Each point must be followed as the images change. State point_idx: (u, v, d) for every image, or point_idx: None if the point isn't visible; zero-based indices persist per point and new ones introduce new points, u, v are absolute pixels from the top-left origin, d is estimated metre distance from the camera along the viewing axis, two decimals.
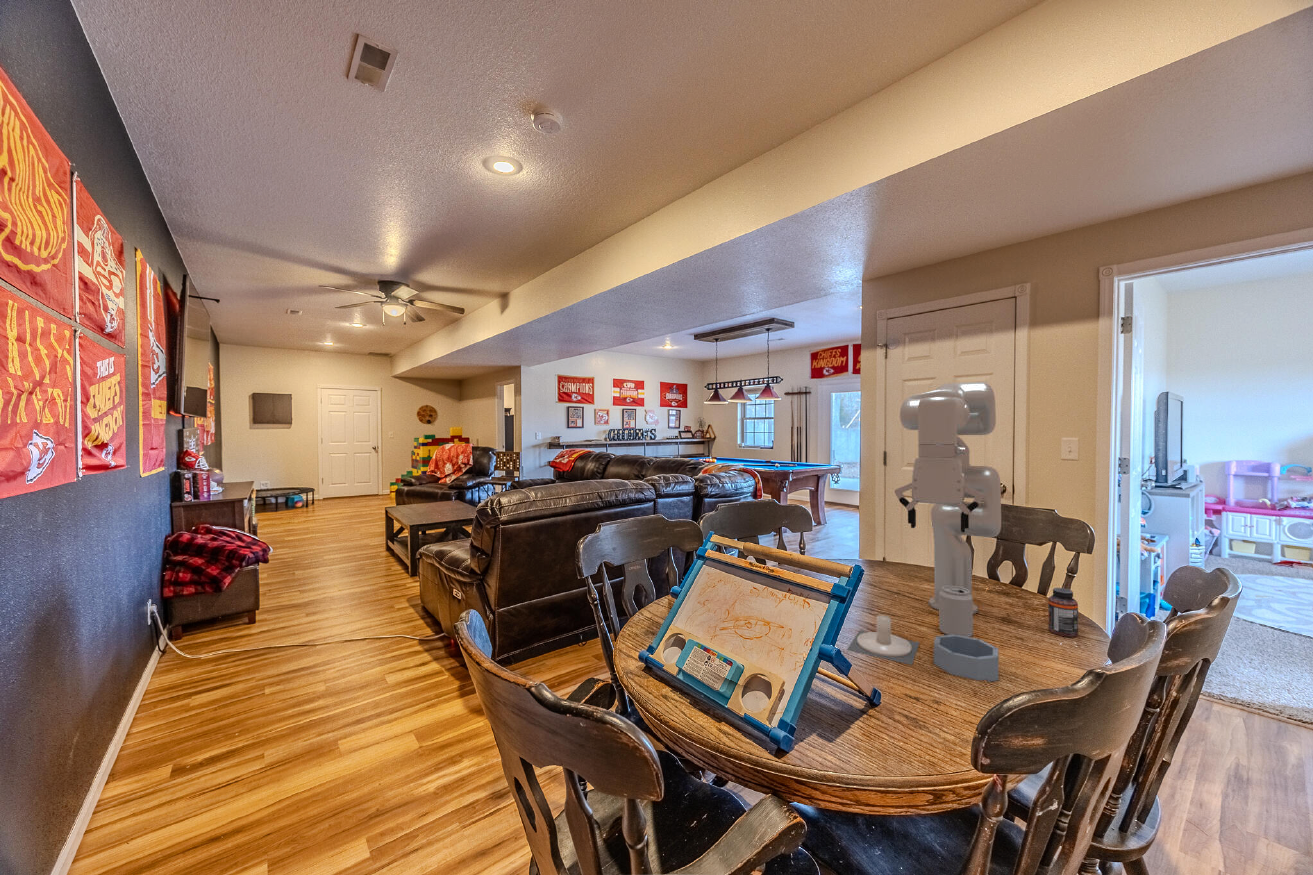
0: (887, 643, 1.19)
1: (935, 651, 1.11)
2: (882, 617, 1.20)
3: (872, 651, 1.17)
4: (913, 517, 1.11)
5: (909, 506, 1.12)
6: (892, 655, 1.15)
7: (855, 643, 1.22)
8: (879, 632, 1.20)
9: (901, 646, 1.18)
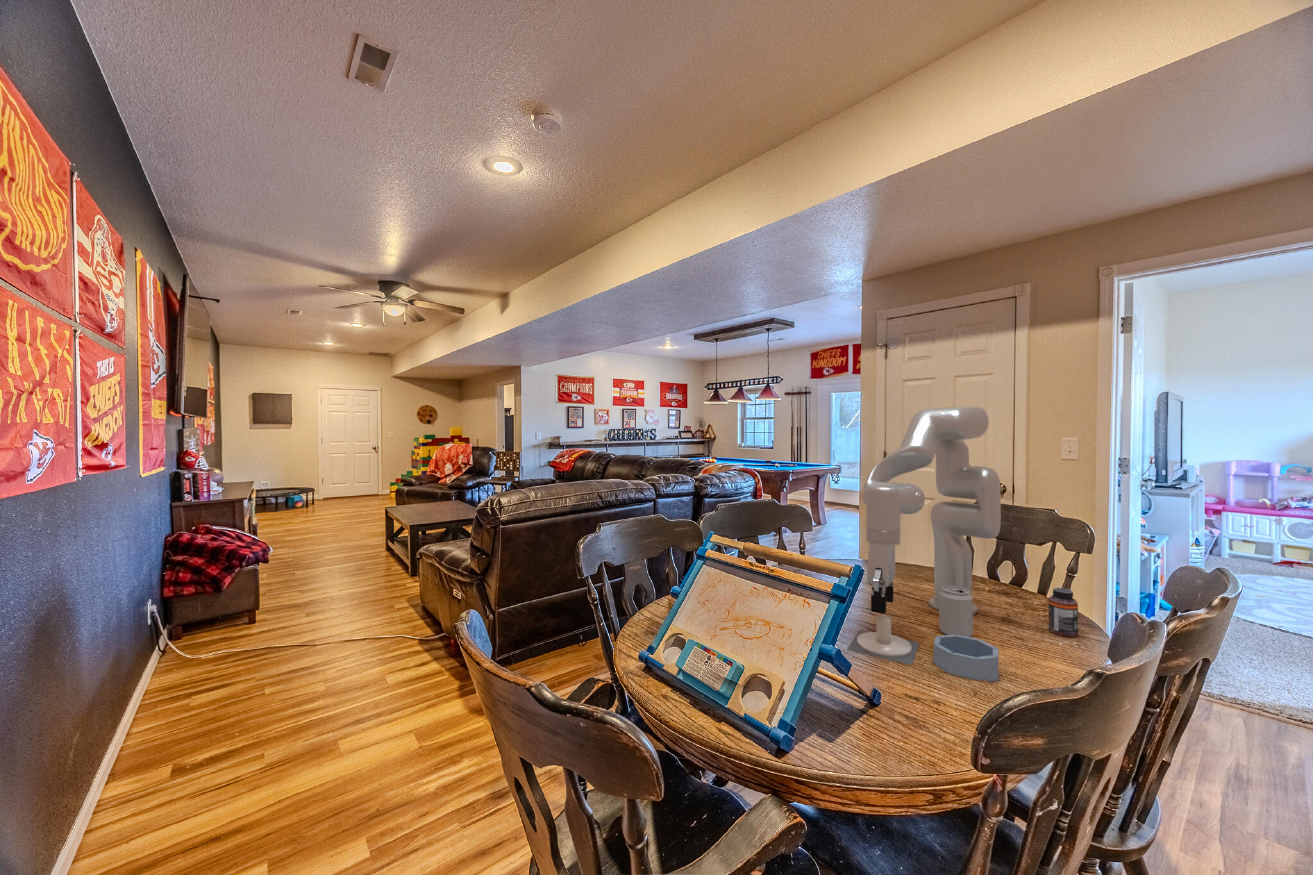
0: (887, 643, 1.19)
1: (935, 651, 1.11)
2: (882, 617, 1.20)
3: (872, 651, 1.16)
4: None
5: (884, 593, 1.15)
6: (892, 655, 1.15)
7: (855, 643, 1.22)
8: (879, 632, 1.20)
9: (901, 646, 1.18)
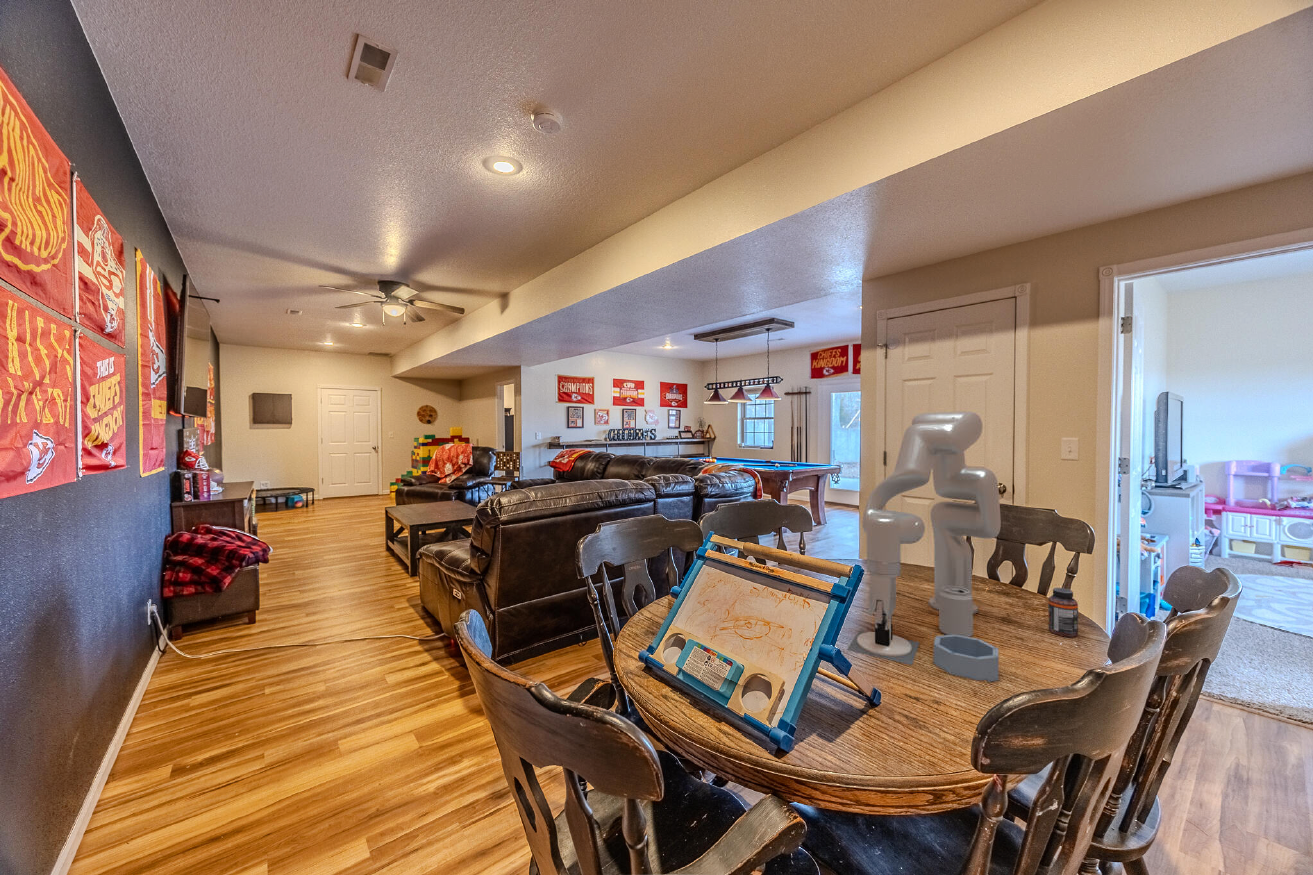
0: None
1: (935, 651, 1.11)
2: None
3: (872, 651, 1.16)
4: None
5: None
6: (892, 655, 1.15)
7: (855, 643, 1.22)
8: None
9: (901, 646, 1.18)
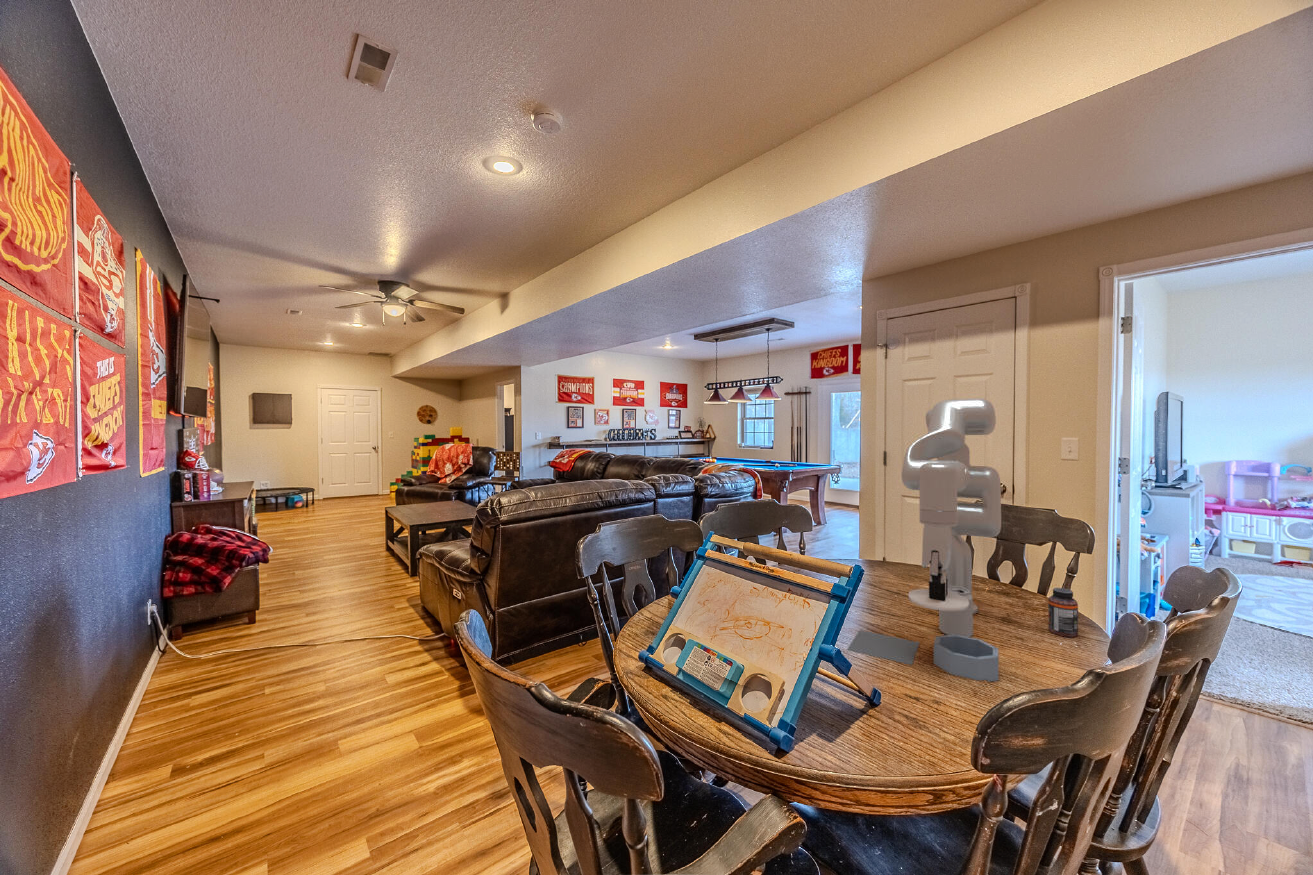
0: None
1: (935, 651, 1.11)
2: None
3: (927, 605, 1.09)
4: None
5: (943, 579, 1.10)
6: (949, 609, 1.07)
7: (855, 643, 1.22)
8: None
9: (958, 601, 1.11)
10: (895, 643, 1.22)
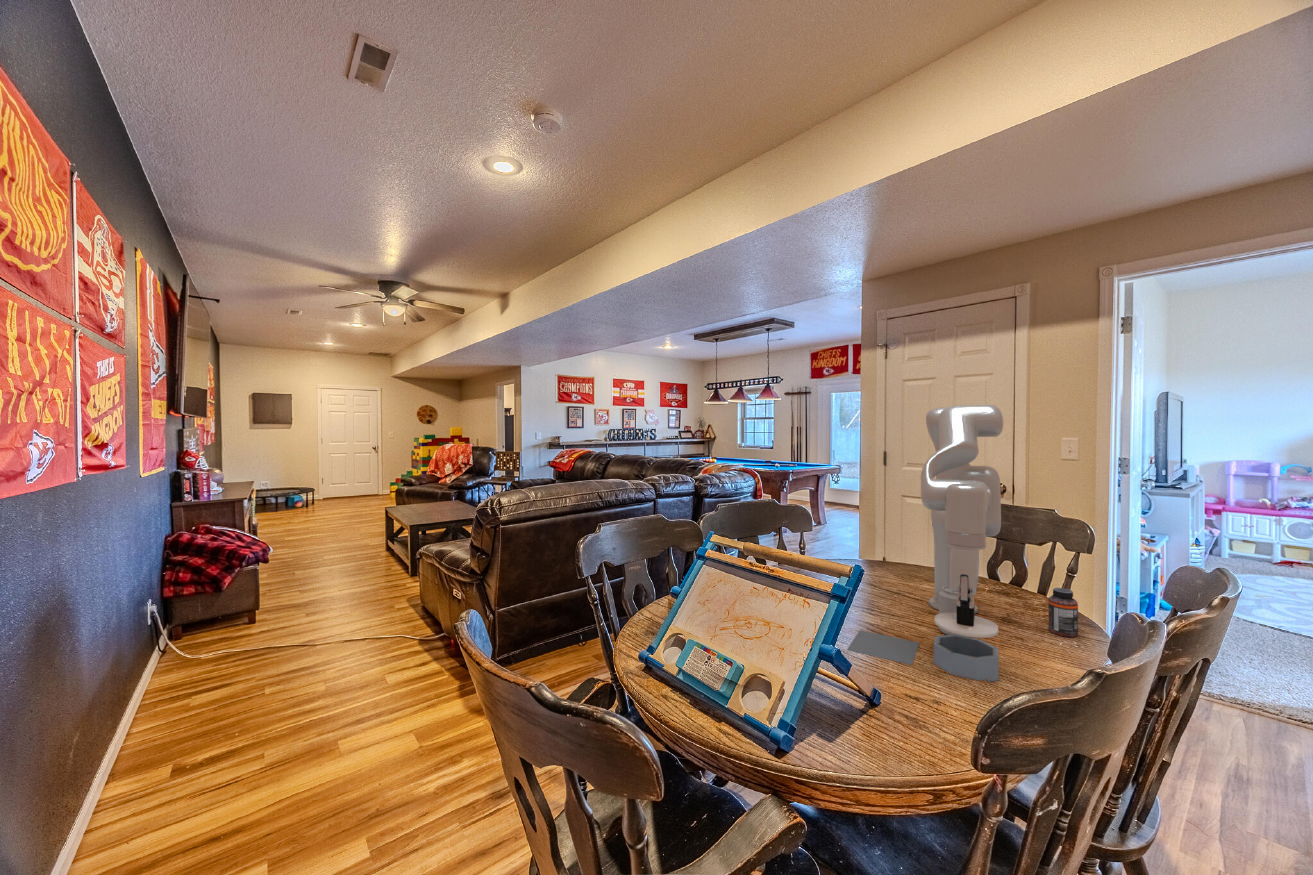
0: None
1: (935, 651, 1.11)
2: None
3: (956, 631, 1.06)
4: None
5: None
6: (979, 635, 1.04)
7: (855, 643, 1.22)
8: None
9: (986, 626, 1.07)
10: (895, 643, 1.22)
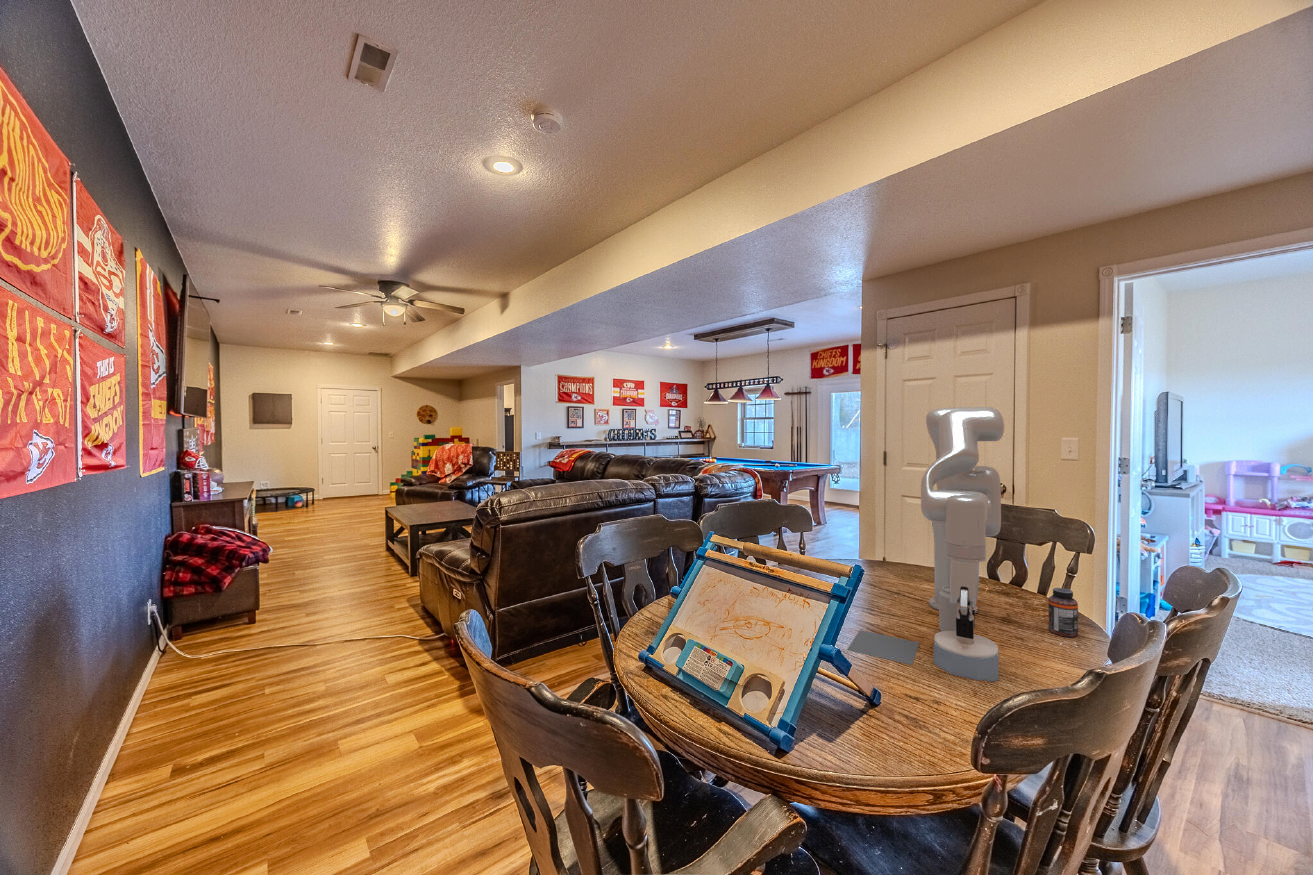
0: (970, 643, 1.08)
1: (935, 651, 1.11)
2: None
3: (956, 651, 1.06)
4: None
5: (971, 617, 1.06)
6: (979, 656, 1.04)
7: (855, 643, 1.22)
8: None
9: (986, 646, 1.08)
10: (895, 643, 1.22)
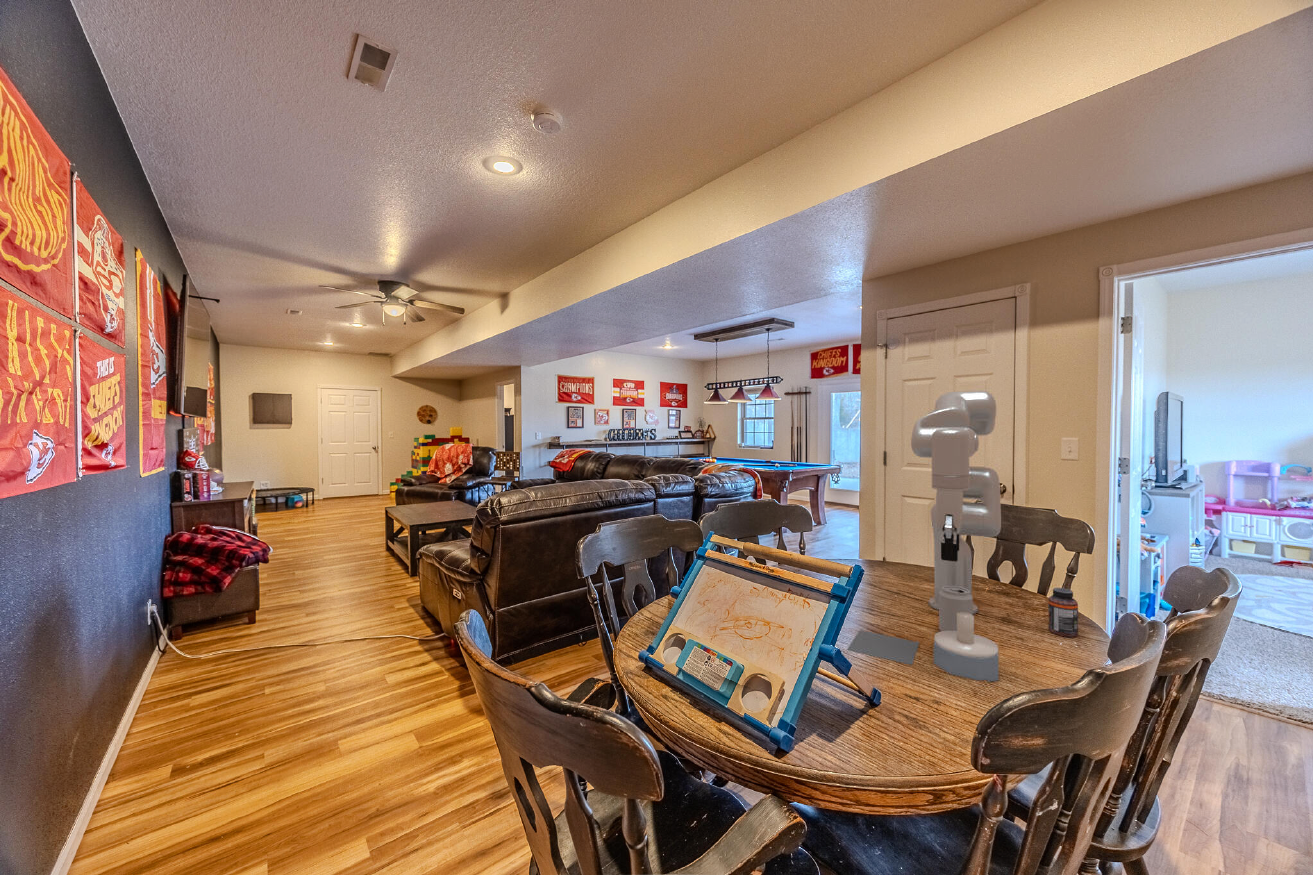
0: (970, 643, 1.08)
1: (935, 651, 1.11)
2: (963, 614, 1.10)
3: (956, 651, 1.06)
4: None
5: (955, 540, 1.10)
6: (979, 656, 1.04)
7: (855, 643, 1.22)
8: (961, 631, 1.09)
9: (986, 646, 1.08)
10: (895, 643, 1.22)
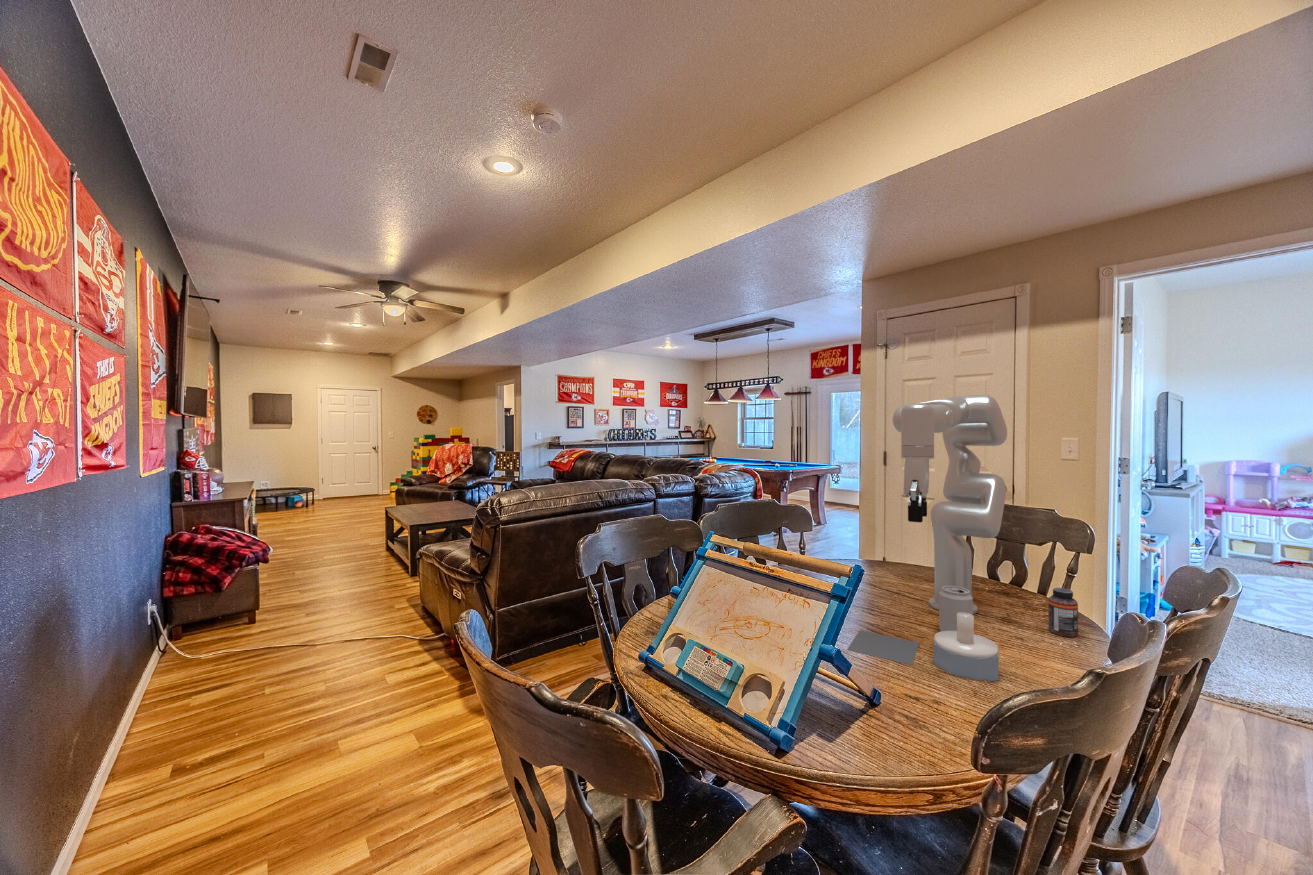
0: (970, 643, 1.08)
1: (935, 651, 1.11)
2: (963, 614, 1.10)
3: (956, 651, 1.06)
4: None
5: (920, 503, 1.22)
6: (979, 656, 1.04)
7: (855, 643, 1.22)
8: (961, 631, 1.09)
9: (986, 646, 1.08)
10: (895, 643, 1.22)
